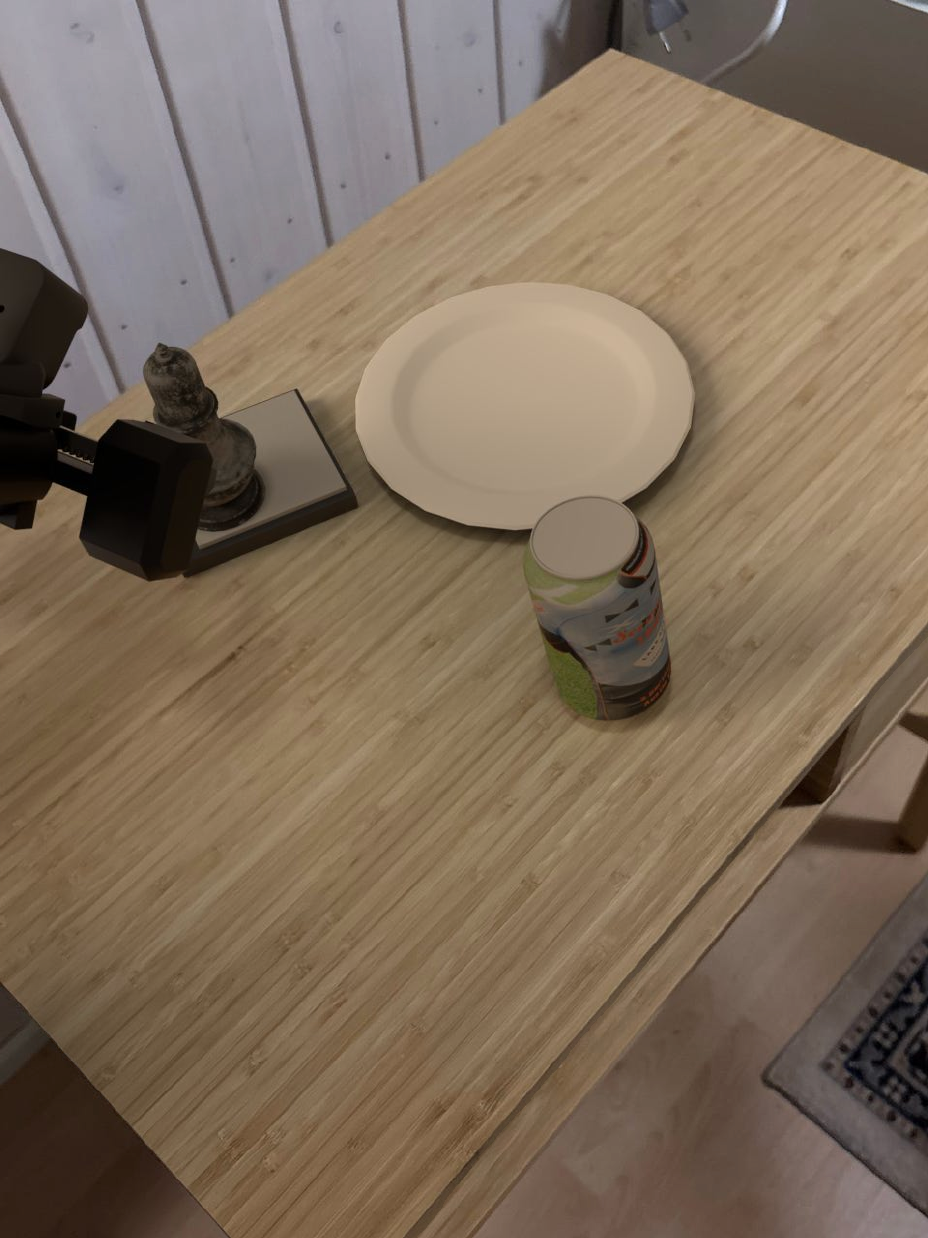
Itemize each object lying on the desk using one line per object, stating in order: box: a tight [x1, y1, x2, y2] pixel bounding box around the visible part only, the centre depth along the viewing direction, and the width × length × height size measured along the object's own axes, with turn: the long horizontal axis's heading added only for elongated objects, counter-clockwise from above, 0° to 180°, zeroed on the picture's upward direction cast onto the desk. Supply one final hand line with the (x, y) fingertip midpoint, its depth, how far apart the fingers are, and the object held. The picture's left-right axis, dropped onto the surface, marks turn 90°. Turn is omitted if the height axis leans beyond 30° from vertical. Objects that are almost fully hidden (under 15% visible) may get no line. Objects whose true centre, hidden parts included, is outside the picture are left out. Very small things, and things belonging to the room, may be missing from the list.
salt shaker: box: [142, 342, 265, 532], centre depth 63 cm, size 6×6×12 cm
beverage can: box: [522, 495, 672, 722], centre depth 55 cm, size 6×7×12 cm
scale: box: [181, 387, 359, 579], centre depth 69 cm, size 11×10×2 cm
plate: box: [354, 281, 696, 533], centre depth 71 cm, size 21×21×2 cm
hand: (141, 449), depth 59 cm, fingers open, 9 cm apart
